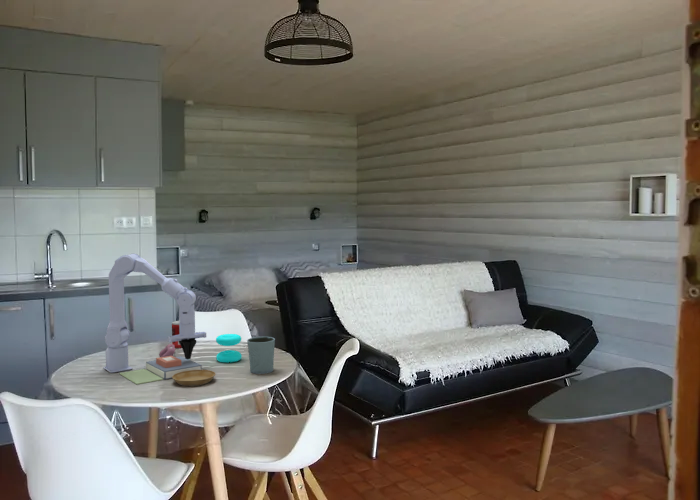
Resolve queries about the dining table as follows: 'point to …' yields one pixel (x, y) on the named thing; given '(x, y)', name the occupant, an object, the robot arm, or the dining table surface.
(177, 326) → the canned food
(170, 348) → the pink rounded piece
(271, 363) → the grey plant pot
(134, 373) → the felt mat
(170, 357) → the card box
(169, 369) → the book deck
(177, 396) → the dining table surface
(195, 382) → the plant saucer
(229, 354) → the donuts
